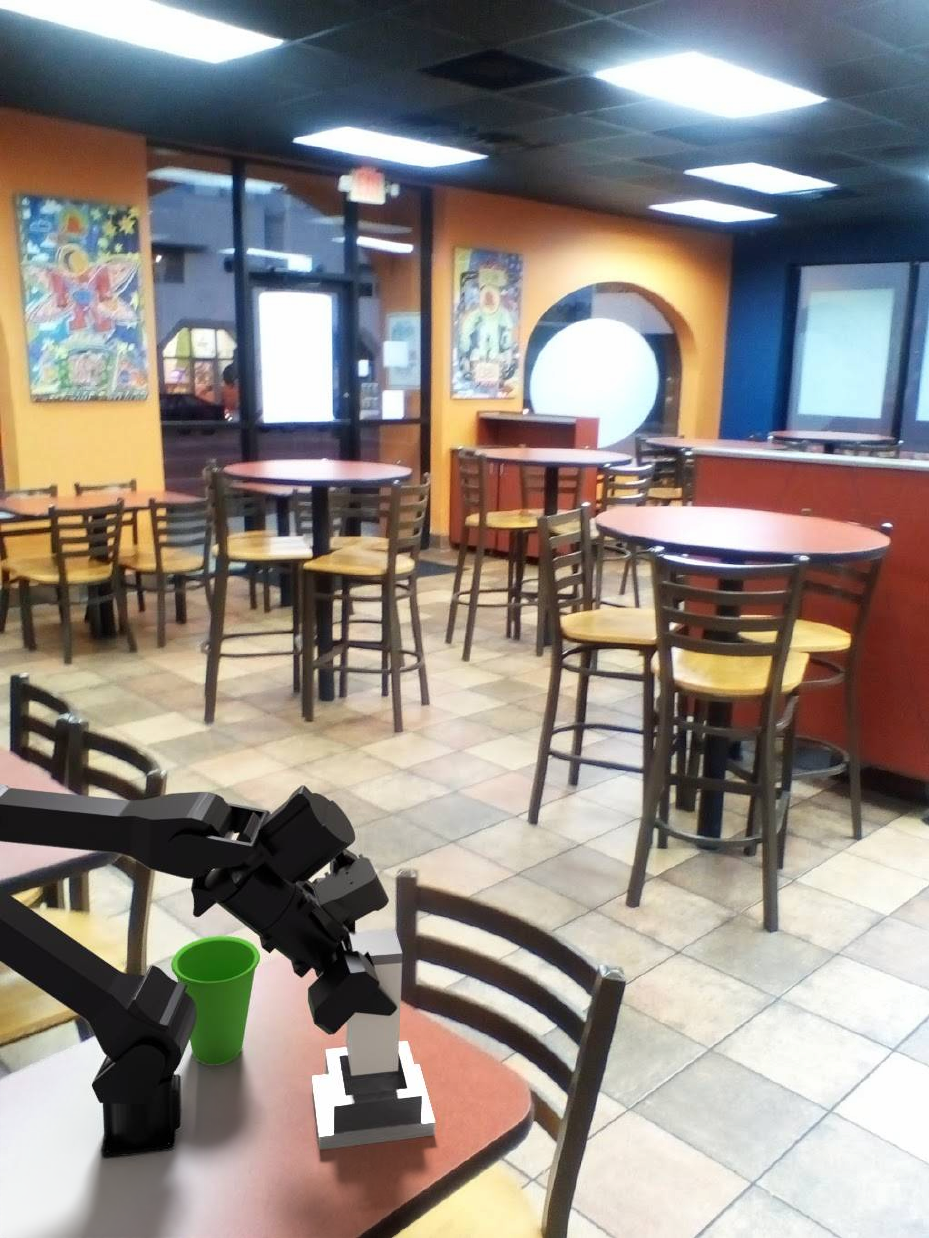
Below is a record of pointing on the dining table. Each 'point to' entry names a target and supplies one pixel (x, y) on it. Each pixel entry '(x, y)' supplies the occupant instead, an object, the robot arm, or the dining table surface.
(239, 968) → the cup
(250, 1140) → the dining table surface
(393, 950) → the plug
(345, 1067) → the socket
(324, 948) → the robot arm
